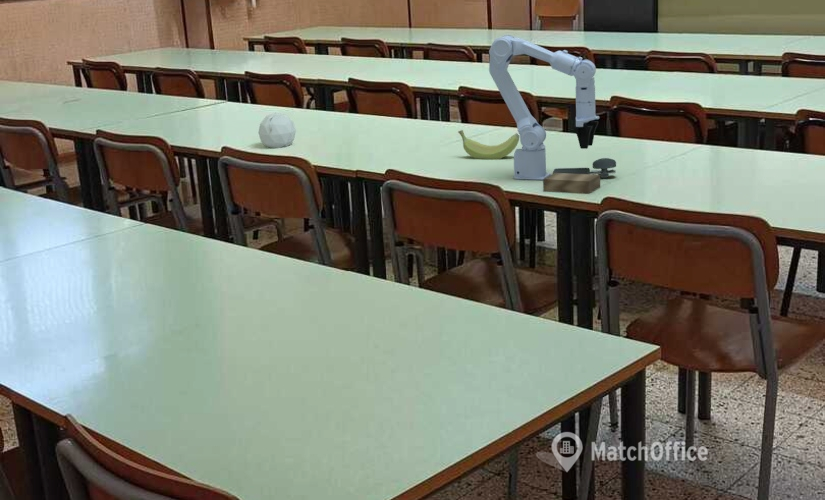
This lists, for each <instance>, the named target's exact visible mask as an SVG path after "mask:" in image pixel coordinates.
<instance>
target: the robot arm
mask: <svg viewBox="0 0 825 500" xmlns="http://www.w3.org/2000/svg"><path fill="white" fill-rule="evenodd" d="M568 52H569V51H568V50H566V49H564V50H557V51H555V52H553V51H550V50H548V49H547V48H545V47H542V46H540V45H537V44H535V43H533V42H531V41H528V40H526V39H523V38H521V37H515V36H513V35H511V34H506V35H502V36H501V37H498V38H496V39H494V41H492V43H491V46H490V47H489V50H488V53H489V62H488V63H489V68H488V71H489V74H490V76H491V79H492V80H493V82H494V83H495V86H496V88H497V89H498V91H499V93H500V95H501V97H502V99H503V100H504V102H505V104H506V106H507V108H508V110H509V112H510V114H511V116H512V117H513V119H514V121H515V123H516V127H517V132H518V135H519V141H520V144H521V148H516V149H514V150H515V151H514V154H513V173H514V176H513V179H514V180H533V181H534V180H537V181H539V180H540V181H543V179H544V178H546V177H548V176H550V175H551V172H547V161H546V160H547V156H546V155H547V153H546V152H547V151H546V145H545V144H544V141H545V140H546V139H547V132H546V129H545V128H544V127H543V126H542V125H540V124H539V123H538V121H537V119H536V118H535V117H534V116H533V115H532V114H531V112H530V109H528V106H527V105H526V102H525V101H524V99H523V97H522V95H521V93H520V92H519V89H518V88H517V85H516V84H515V82H514V80H513V78H512V75H510V72H509V70H508V68H509V66H510V62H511V60H512V58H513V57H514V56H521V55H527V56H530V57H532V58H535V59H538V60H540V61H543V62H547V63H549V64H550V66H551V69H552V70H555V71H558V72H560V73H563V74H564V75H567V76H570V77H572V76H573V77H574V78H575V124H574V125H573V126H572V128H573V130H574V132H575V134H576V136H577V140H578V143H579V147H580V149H582V150H583V149H584V150H587V149H589V146H590V147H591V146H593V143H594V138H595V133H596V130H597V128H598V125H599V121H598V120H599V119H600V116H599V115H597V114H596V86H595V85H596V84H595V77H594V76H596V75H595V74H596V72H597V68H596V65H595V63H594V62H592V61H591V60H590V59H583V57H581V56H575V55H573V54H571V53H568Z"/></svg>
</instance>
